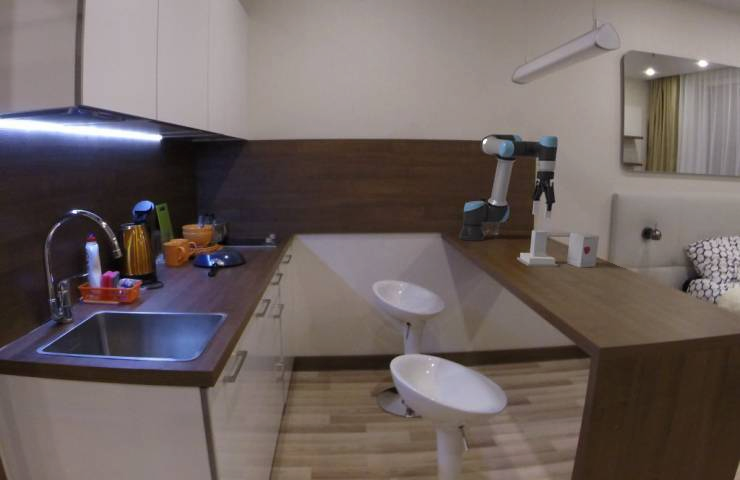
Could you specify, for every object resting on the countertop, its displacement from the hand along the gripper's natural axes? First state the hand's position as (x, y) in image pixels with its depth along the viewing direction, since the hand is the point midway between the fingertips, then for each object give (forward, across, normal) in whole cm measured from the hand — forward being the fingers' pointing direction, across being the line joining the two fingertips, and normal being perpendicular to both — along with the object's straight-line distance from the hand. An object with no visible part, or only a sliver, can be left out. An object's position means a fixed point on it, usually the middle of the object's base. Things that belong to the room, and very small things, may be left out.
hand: (541, 216), depth 199 cm
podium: (+23, 0, 0) cm, 23 cm away
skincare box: (+19, 0, 0) cm, 19 cm away
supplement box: (+23, +3, +20) cm, 30 cm away
